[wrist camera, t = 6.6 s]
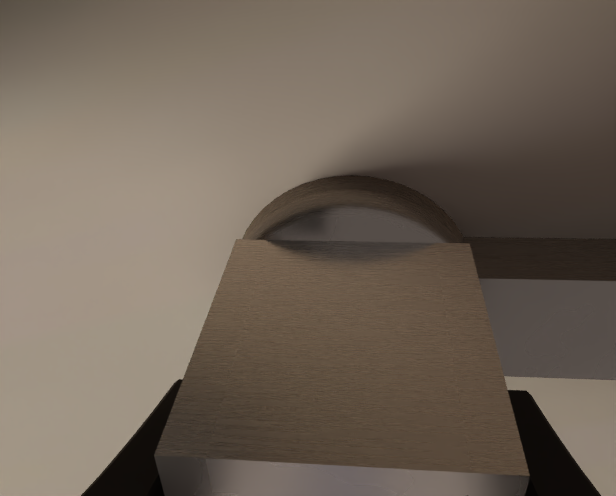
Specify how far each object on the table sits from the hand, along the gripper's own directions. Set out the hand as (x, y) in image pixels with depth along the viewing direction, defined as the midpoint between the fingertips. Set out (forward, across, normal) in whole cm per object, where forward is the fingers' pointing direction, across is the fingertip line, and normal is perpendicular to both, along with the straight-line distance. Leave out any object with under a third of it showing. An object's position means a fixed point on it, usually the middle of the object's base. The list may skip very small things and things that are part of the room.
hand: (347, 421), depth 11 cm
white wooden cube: (+2, 0, 0) cm, 3 cm away
